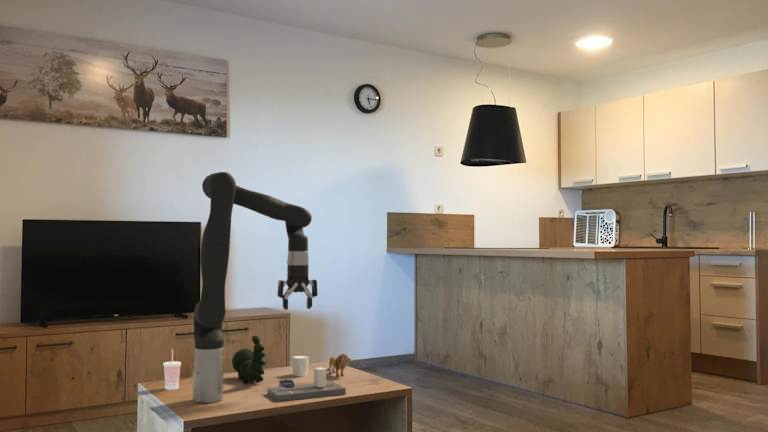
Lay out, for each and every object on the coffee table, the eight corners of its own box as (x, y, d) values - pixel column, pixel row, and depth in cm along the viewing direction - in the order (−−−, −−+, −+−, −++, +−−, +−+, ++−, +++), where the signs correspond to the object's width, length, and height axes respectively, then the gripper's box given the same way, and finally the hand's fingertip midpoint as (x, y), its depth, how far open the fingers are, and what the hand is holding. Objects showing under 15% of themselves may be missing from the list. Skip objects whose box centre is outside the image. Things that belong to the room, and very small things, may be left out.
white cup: (307, 376, 257) (307, 358, 258) (290, 376, 257) (290, 358, 258) (309, 373, 264) (310, 355, 264) (292, 373, 264) (292, 355, 264)
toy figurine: (270, 389, 242) (249, 371, 264) (273, 338, 241) (251, 324, 263) (245, 392, 237) (226, 373, 259) (247, 340, 236) (228, 325, 258)
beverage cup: (182, 389, 235) (183, 349, 235) (165, 391, 232) (165, 350, 232) (178, 385, 240) (179, 346, 241) (161, 387, 237) (161, 348, 238)
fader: (318, 392, 228) (318, 369, 228) (313, 390, 231) (314, 367, 232) (326, 391, 229) (326, 369, 230) (321, 389, 233) (322, 367, 233)
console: (278, 401, 217) (278, 395, 217) (267, 393, 228) (267, 387, 228) (345, 394, 228) (345, 388, 228) (332, 387, 239) (332, 381, 239)
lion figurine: (353, 377, 257) (353, 353, 257) (341, 378, 253) (341, 355, 254) (331, 371, 268) (331, 348, 269) (320, 372, 265) (320, 350, 265)
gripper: (282, 264, 232) (281, 311, 232) (320, 263, 238) (320, 309, 238) (275, 263, 239) (275, 309, 238) (312, 263, 245) (312, 307, 245)
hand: (297, 309), depth 238 cm, fingers open, 8 cm apart
